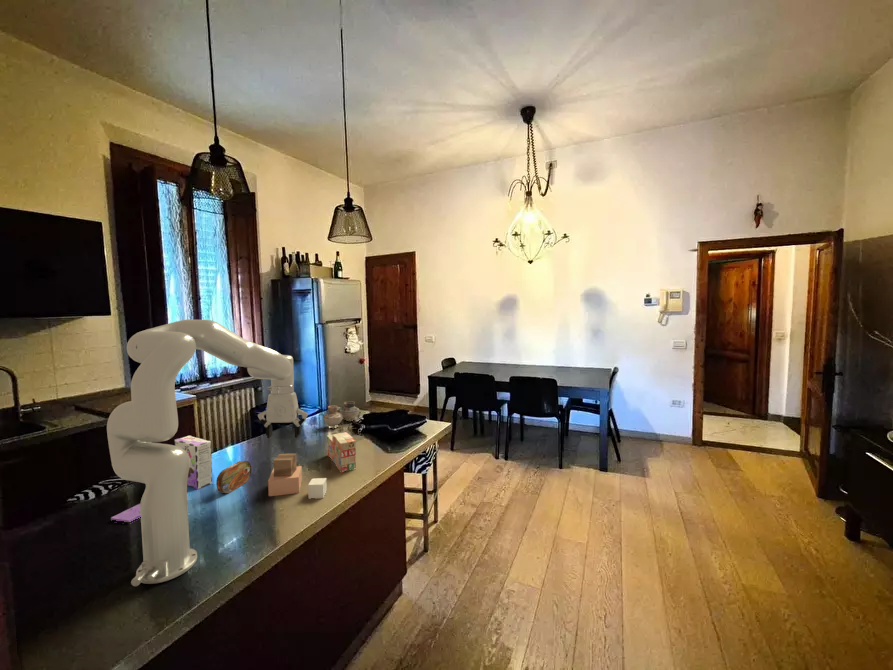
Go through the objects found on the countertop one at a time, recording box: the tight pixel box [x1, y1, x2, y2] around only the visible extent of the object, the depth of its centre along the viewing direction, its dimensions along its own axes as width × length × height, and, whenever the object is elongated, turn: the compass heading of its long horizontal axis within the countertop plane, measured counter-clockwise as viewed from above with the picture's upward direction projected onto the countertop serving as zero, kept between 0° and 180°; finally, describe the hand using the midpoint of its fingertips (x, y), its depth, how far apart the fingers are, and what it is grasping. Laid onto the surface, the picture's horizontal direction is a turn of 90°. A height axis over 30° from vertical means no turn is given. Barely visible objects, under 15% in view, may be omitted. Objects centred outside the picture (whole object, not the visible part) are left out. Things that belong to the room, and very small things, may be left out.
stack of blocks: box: [326, 431, 357, 473], centre depth 164 cm, size 21×6×12 cm, turn 31°
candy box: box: [174, 435, 213, 490], centre depth 145 cm, size 14×6×16 cm, turn 62°
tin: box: [215, 460, 252, 494], centre depth 141 cm, size 15×3×8 cm, turn 168°
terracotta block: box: [267, 465, 303, 497], centre depth 141 cm, size 10×10×6 cm
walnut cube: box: [273, 453, 297, 477], centre depth 140 cm, size 6×6×6 cm
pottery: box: [323, 400, 360, 427], centre depth 218 cm, size 11×25×12 cm, turn 157°
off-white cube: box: [307, 477, 328, 500], centre depth 136 cm, size 5×5×5 cm
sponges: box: [110, 503, 141, 522], centre depth 124 cm, size 7×13×2 cm, turn 167°
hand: (283, 436), depth 139 cm, fingers open, 9 cm apart
